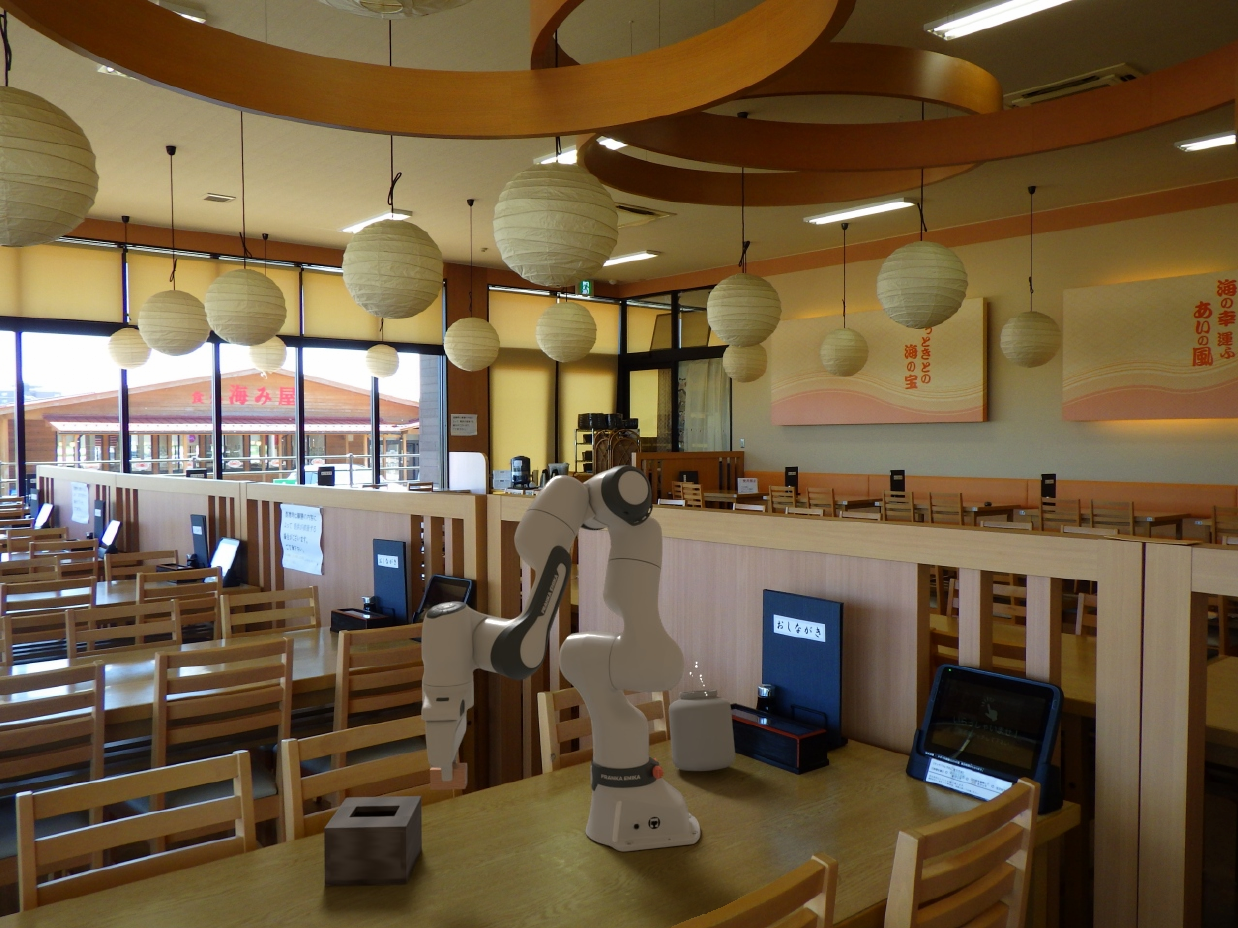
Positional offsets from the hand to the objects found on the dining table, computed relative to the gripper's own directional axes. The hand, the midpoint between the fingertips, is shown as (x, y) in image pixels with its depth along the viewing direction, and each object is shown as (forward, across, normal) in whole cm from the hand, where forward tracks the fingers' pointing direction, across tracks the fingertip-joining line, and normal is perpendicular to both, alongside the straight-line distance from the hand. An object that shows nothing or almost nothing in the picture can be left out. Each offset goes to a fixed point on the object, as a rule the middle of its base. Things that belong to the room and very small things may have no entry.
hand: (449, 774), depth 155 cm
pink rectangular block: (+2, 0, 0) cm, 2 cm away
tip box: (+18, -5, -14) cm, 23 cm away
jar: (+19, -52, +51) cm, 76 cm away
